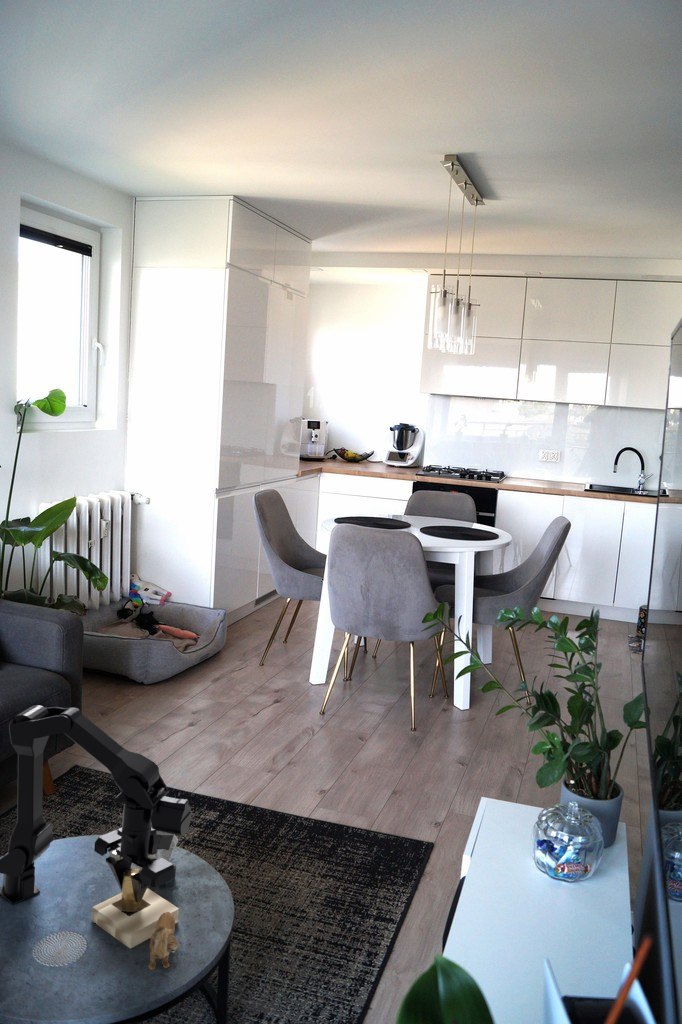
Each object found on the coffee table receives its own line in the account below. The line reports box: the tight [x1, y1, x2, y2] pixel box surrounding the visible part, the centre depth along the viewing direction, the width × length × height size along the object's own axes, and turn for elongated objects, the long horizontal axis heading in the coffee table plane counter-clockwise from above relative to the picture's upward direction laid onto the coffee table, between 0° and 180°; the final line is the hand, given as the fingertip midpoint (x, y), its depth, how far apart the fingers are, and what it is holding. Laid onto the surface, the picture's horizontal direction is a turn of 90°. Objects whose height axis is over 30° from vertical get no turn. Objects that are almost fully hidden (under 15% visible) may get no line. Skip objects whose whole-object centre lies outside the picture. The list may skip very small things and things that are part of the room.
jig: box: [91, 887, 180, 949], centre depth 173 cm, size 12×12×3 cm
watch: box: [149, 834, 179, 889], centre depth 188 cm, size 6×8×11 cm
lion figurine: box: [148, 912, 180, 970], centre depth 164 cm, size 15×5×9 cm, turn 12°
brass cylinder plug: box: [121, 867, 142, 913], centre depth 173 cm, size 4×4×7 cm
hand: (131, 896), depth 174 cm, fingers closed on brass cylinder plug, 4 cm apart
